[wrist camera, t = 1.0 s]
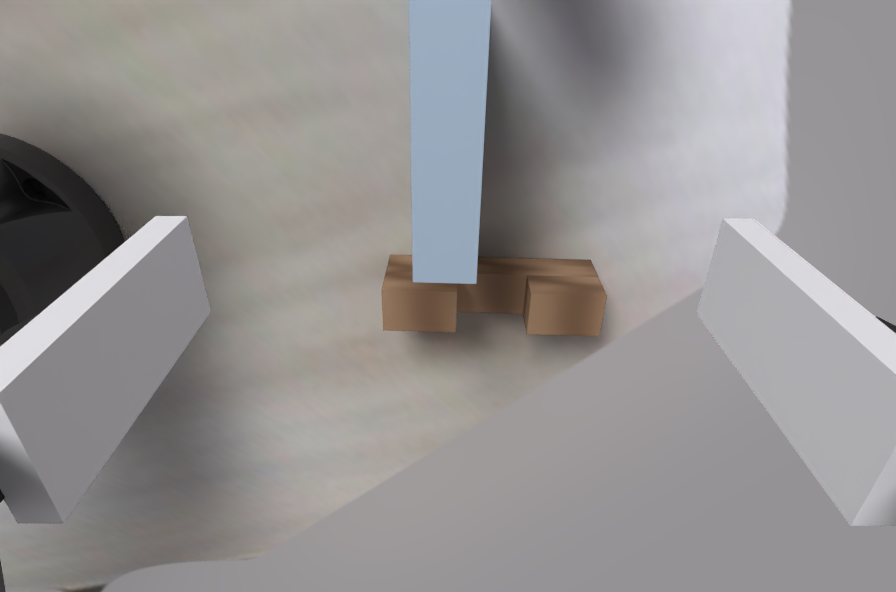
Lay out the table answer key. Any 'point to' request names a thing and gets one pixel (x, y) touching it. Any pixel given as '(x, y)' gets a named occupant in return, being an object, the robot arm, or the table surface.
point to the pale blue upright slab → (447, 135)
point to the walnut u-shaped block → (499, 296)
